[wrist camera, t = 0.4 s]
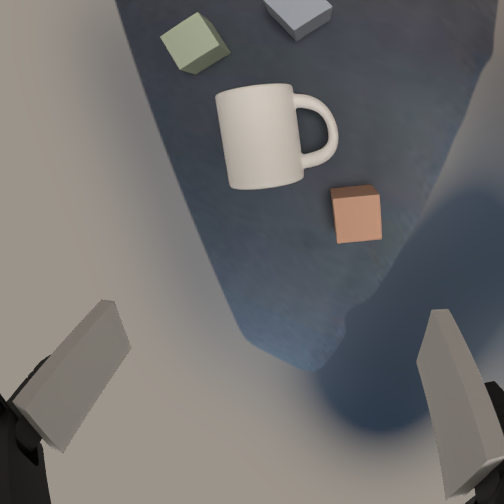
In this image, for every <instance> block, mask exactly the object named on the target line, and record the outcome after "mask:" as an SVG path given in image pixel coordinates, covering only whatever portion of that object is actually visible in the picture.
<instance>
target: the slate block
mask: <svg viewBox="0 0 504 504" xmlns="http://www.w3.org/2000/svg"><path fill="white" fill-rule="evenodd" d="M263 1H264V4H265V6H266V8H267V10H268V12H269V14H270V15H271V16H272V17H273V18H274V19H275V20H276V21H277V22H278V23H279V24H280V25H281V26H282V27H283V28H284V29H285V30H286V31H287V32H288V33H289V34H290V35H291V36H292V37H293V38H294V40H295V41H296V42H297V41H298V40H300V39H301V38H303V37H304V36H306V35H307V34H309V33H310V32H312V31H313V30H315V29H317V28H318V27H320V26H321V25H323V24H324V23H326V22H328V21H329V20H330V18H331V12H332V6H331V4H330V3H329V2H328V1H327V0H263Z"/></svg>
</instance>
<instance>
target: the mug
mask: <svg viewBox="0 0 504 504" xmlns="http://www.w3.org/2000/svg"><path fill="white" fill-rule="evenodd" d="M215 100H216V106H217V112H218V118H219V125H220V131H221V137H222V143H223V149H224V155H225V161H226V167H227V173H228V179H229V185H230V187H232V188H234V189H241V190H252V189H264V188H272V187H278V186H283V185H288V184H291V183H294V182H297V181H299V180H301V179H302V178H303V177H304V171H303V170H304V169H305V168H309V167H314V166H317V165H320V164H322V163H324V162H326V161H327V160H329V159H330V158H331V157H332V156H333V154H334V153H335V151H336V149H337V145H338V129H337V125H336V122H335V120H334V117H333V115H332V114H331V112H330V110H329V109H328V108H327V107H326V106H325V105H324V104H323V103H322V102H321V101H320V100H318V99H316V98H314V97H312V96H309V95H304V94H295V93H293V88H292V86H291V85H289V84H282V83H275V84H260V85H252V86H246V87H240V88H235V89H231V90H227V91H224V92H221V93H219V94H217V95H216V96H215ZM297 108H306V109H311V110H314V111H316V112H317V113H319V114H320V115H321V116H322V117H323V118H324V120H325V122H326V125H327V128H328V142H327V144H326V145H325V146H324V147H323V148H321V149H320V150H317V151H315V152H311V153H307V154H303V153H302V152H301V146H300V138H299V130H298V122H297V115H296V109H297Z"/></svg>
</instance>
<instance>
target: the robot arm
mask: <svg viewBox="0 0 504 504" xmlns="http://www.w3.org/2000/svg"><path fill="white" fill-rule="evenodd" d="M130 349H131V345H130V343H129V340H128V337H127V335H126V332H125V330H124V327H123V324H122V321H121V319H120V316H119V313H118V310H117V307H116V304H115V302H114V301H108V300H101V301H100V302H99V303H98V304H97V305H96V306H95V307H94V308H93V309H92V310H91V312H89V314H88V315H87V316H86V317H85V318H84V319H83V320H82V321H81V322H80V323H79V324H78V325H77V326H76V328H75V329H74V330H73V331H72V332H71V333H70V334H69V335H68V336H67V338H66V339H65V340H64V341H63V342H62V343H61V344H60V345H59V346H58V348H57V349H56V350H55V351H54V352H53V353H52V354H51V355H49V356H48V357H46V358H45V359H44V360H42V361H41V362H40V363H39V364H38V365H37V366H36V367H35V368H34V371H32V372H31V373H30V374H29V375H28V378H26V379H25V380H24V381H23V383H22V384H21V385H20V386H19V387H18V389H17V390H16V391H15V392H14V394H13V395H12V396H11V397H10V398H9V400H8V401H7V402H6V401H5V400H4V398H3V397H2V396H1V394H0V504H51V500H50V495H49V489H48V483H47V477H46V470H45V462H44V453H43V447H42V445H41V443H40V441H41V439H42V438H43V440H44V441H45V442H46V443H47V444H48V445H49V446H50V447H52V448H54V449H55V450H57V451H59V452H61V453H64V451H65V449H66V447H67V446H68V445H69V443H70V441H71V439H72V438H73V436H74V434H75V433H76V432H77V430H78V428H79V427H80V425H81V424H82V422H83V421H84V419H85V417H86V416H87V414H88V413H89V411H90V410H91V408H92V407H93V405H94V403H95V402H96V400H97V399H98V397H99V396H100V394H101V393H102V391H103V390H104V388H105V387H106V385H107V384H108V382H109V381H110V379H111V378H112V376H113V374H114V373H115V372H116V370H117V369H118V367H119V366H120V364H121V362H122V361H123V360H124V358H125V357H126V355H127V354H128V352H129V351H130ZM416 363H417V366H418V369H419V373H420V376H421V380H422V384H423V387H424V391H425V395H426V398H427V403H428V407H429V411H430V415H431V420H432V424H433V429H434V433H435V438H436V443H437V448H438V453H439V458H440V465H441V470H442V477H443V483H444V490H445V497H446V500H448V499H452V498H456V497H460V496H464V495H467V494H468V493H469V492H470V491H471V490H472V489H473V488H475V494H476V495H475V496H474V497H472V498H471V499H470V500H469V501H467V502H466V503H465V504H504V391H503V390H502V389H501V388H500V387H499V386H498V384H497V383H496V382H495V381H492V382H487V383H484V382H483V380H482V377H481V375H480V373H479V370H478V368H477V366H476V364H475V362H474V359H473V357H472V355H471V353H470V351H469V349H468V346H467V344H466V342H465V340H464V338H463V336H462V334H461V332H460V330H459V328H458V326H457V324H456V322H455V321H454V319H453V317H452V315H451V313H450V311H449V309H440V310H432V311H431V314H430V318H429V322H428V325H427V329H426V332H425V336H424V339H423V342H422V345H421V349H420V352H419V355H418V358H417V361H416Z"/></svg>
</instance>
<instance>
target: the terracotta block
mask: <svg viewBox="0 0 504 504" xmlns="http://www.w3.org/2000/svg"><path fill="white" fill-rule="evenodd" d="M330 191H331V199H332V208H333V217H334V226H335V233H336V238H337V244H338V243H347V242H357V241H367V240H377V239H382V232H381V211H380V196H379V193H378V192H377V191H376V190H375V188H374V187H373V186H372V185H371V184H370V185H360V186H350V187H340V188H330Z"/></svg>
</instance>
